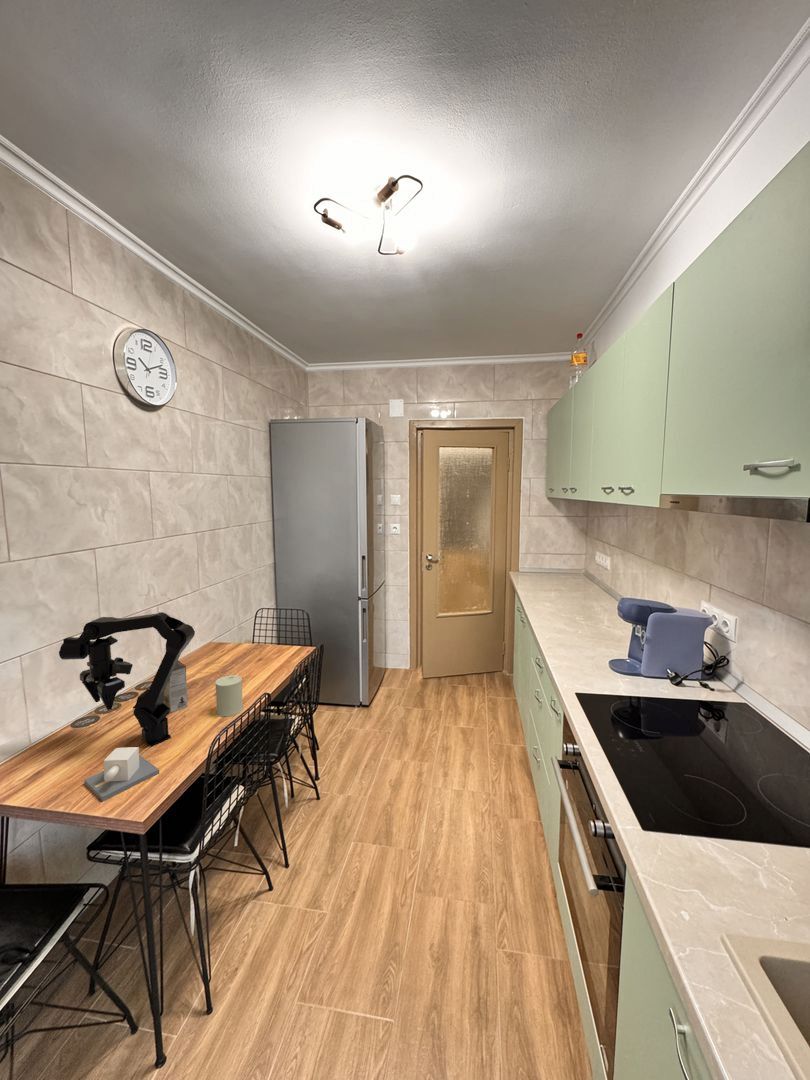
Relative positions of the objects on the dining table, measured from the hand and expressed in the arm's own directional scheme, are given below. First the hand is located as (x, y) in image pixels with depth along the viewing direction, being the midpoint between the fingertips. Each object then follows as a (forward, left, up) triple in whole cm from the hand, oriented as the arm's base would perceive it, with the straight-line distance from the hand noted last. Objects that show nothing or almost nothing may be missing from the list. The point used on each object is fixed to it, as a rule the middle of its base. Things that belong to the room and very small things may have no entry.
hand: (103, 705), depth 137 cm
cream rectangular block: (+6, +26, -11) cm, 29 cm away
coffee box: (-25, -6, -12) cm, 28 cm away
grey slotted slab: (+5, +25, -12) cm, 28 cm away
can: (-35, +14, -12) cm, 40 cm away
